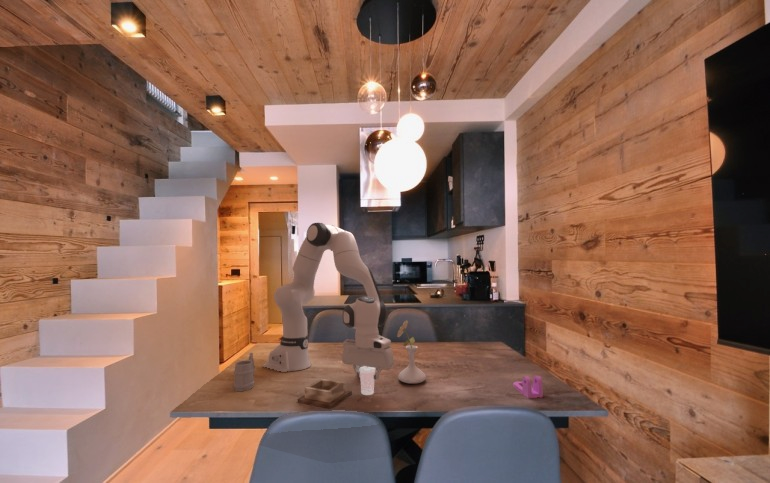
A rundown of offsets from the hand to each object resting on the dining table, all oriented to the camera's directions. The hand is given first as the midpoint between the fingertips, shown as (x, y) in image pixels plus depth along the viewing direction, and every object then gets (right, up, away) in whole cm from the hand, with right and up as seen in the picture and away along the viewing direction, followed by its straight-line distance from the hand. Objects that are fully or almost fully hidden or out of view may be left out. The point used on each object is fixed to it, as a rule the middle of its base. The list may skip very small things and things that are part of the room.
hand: (367, 377), depth 132 cm
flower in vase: (+17, -6, +11) cm, 21 cm away
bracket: (+59, -5, 0) cm, 59 cm away
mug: (-49, -7, +8) cm, 50 cm away
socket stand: (-15, -5, -4) cm, 17 cm away
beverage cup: (0, -6, 0) cm, 6 cm away
